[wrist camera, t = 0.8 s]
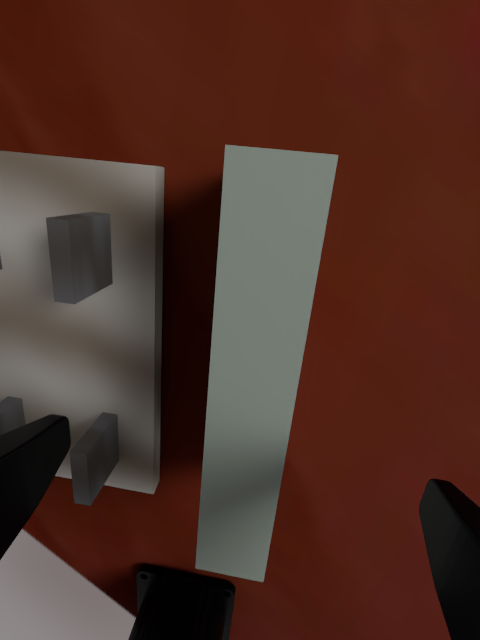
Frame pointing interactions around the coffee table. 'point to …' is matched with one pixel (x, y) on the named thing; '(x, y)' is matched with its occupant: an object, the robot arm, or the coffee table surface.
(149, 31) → the coffee table surface
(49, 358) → the cabinet panel
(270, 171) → the cabinet door
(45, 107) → the coffee table surface
